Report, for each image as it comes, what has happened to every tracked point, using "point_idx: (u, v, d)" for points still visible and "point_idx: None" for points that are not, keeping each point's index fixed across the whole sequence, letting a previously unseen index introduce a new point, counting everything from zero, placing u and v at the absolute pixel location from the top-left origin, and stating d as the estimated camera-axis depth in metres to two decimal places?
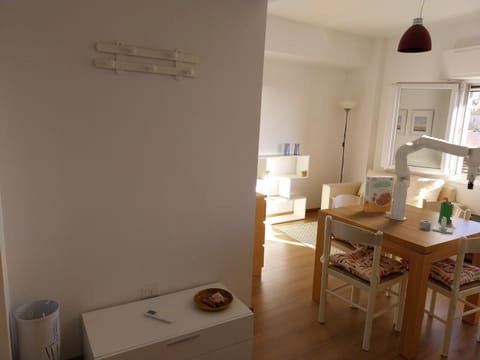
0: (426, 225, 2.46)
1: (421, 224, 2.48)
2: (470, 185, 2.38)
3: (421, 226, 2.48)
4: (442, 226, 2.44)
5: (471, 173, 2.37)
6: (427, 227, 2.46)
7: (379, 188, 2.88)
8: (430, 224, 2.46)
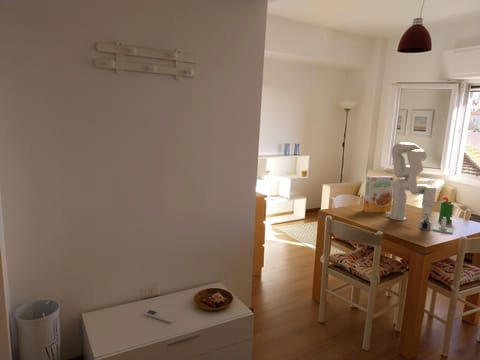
0: None
1: (421, 224, 2.48)
2: (424, 224, 2.45)
3: (421, 226, 2.48)
4: (442, 226, 2.44)
5: (425, 213, 2.43)
6: (427, 227, 2.46)
7: (379, 188, 2.88)
8: (430, 224, 2.46)
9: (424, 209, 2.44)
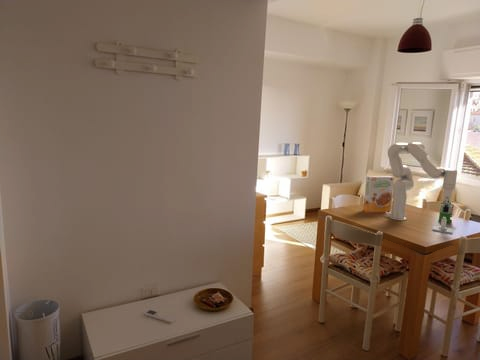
0: None
1: (442, 208, 2.42)
2: (445, 208, 2.39)
3: (442, 210, 2.42)
4: (442, 226, 2.44)
5: (446, 196, 2.37)
6: (448, 211, 2.40)
7: (379, 188, 2.88)
8: (451, 208, 2.40)
9: (445, 192, 2.38)
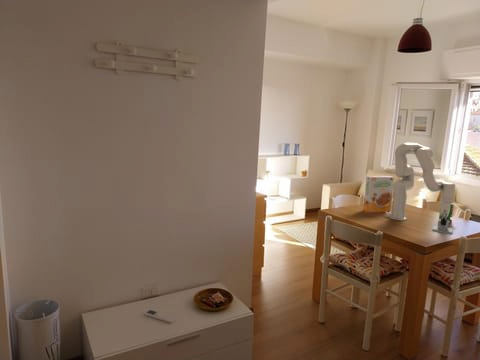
0: None
1: (439, 223, 2.44)
2: (443, 221, 2.40)
3: (439, 225, 2.44)
4: None
5: (444, 209, 2.39)
6: (445, 226, 2.42)
7: (379, 188, 2.88)
8: (448, 223, 2.42)
9: (443, 206, 2.39)
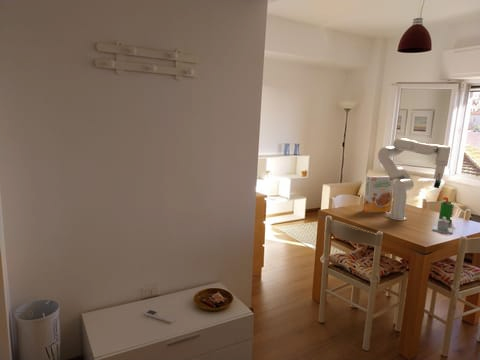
0: (444, 224, 2.42)
1: (439, 223, 2.44)
2: (436, 184, 2.41)
3: (439, 225, 2.44)
4: None
5: (438, 172, 2.40)
6: (445, 226, 2.42)
7: (379, 188, 2.88)
8: (448, 223, 2.42)
9: (437, 169, 2.41)
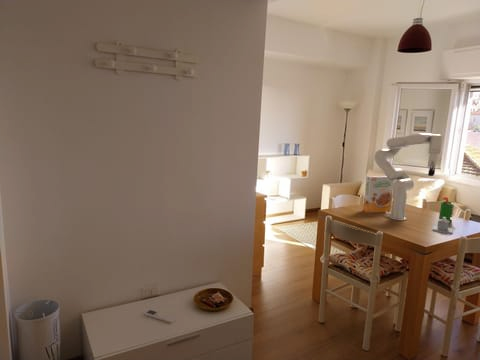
0: (444, 224, 2.42)
1: (439, 223, 2.44)
2: (430, 172, 2.44)
3: (439, 225, 2.44)
4: None
5: (431, 160, 2.43)
6: (445, 226, 2.42)
7: (379, 188, 2.88)
8: (448, 223, 2.42)
9: (430, 157, 2.44)
